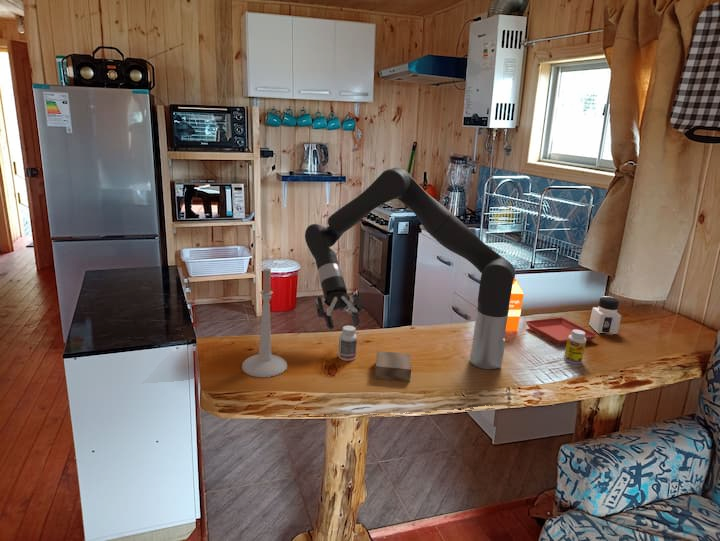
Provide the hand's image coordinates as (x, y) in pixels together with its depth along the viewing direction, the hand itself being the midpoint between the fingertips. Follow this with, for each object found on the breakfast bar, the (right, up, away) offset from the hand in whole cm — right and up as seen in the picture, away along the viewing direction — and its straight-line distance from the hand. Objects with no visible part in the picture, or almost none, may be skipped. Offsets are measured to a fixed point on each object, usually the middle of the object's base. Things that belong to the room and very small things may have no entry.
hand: (344, 327), depth 163 cm
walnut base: (+14, -12, -8) cm, 20 cm away
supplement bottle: (+74, -12, +10) cm, 76 cm away
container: (+97, -5, +38) cm, 104 cm away
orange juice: (+58, -4, +33) cm, 67 cm away
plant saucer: (+77, -7, +30) cm, 83 cm away
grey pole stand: (-23, -11, -10) cm, 27 cm away
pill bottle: (+1, -9, 0) cm, 9 cm away
